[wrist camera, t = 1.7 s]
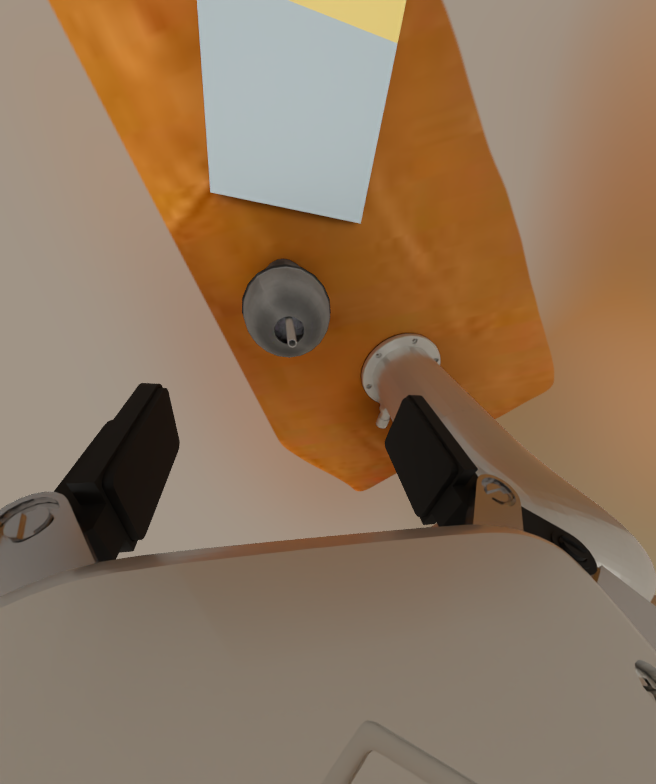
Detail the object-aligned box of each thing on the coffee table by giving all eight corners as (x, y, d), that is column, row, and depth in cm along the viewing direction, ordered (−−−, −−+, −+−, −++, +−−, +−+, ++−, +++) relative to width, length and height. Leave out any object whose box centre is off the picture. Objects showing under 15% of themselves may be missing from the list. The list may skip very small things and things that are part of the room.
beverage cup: (255, 310, 32) (235, 415, 16) (248, 243, 28) (211, 295, 12) (313, 310, 33) (348, 408, 17) (315, 246, 29) (363, 298, 13)
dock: (353, 221, 28) (360, 223, 26) (216, 193, 25) (210, 192, 22) (393, 12, 20) (408, -13, 18) (201, -69, 17) (188, -114, 15)
